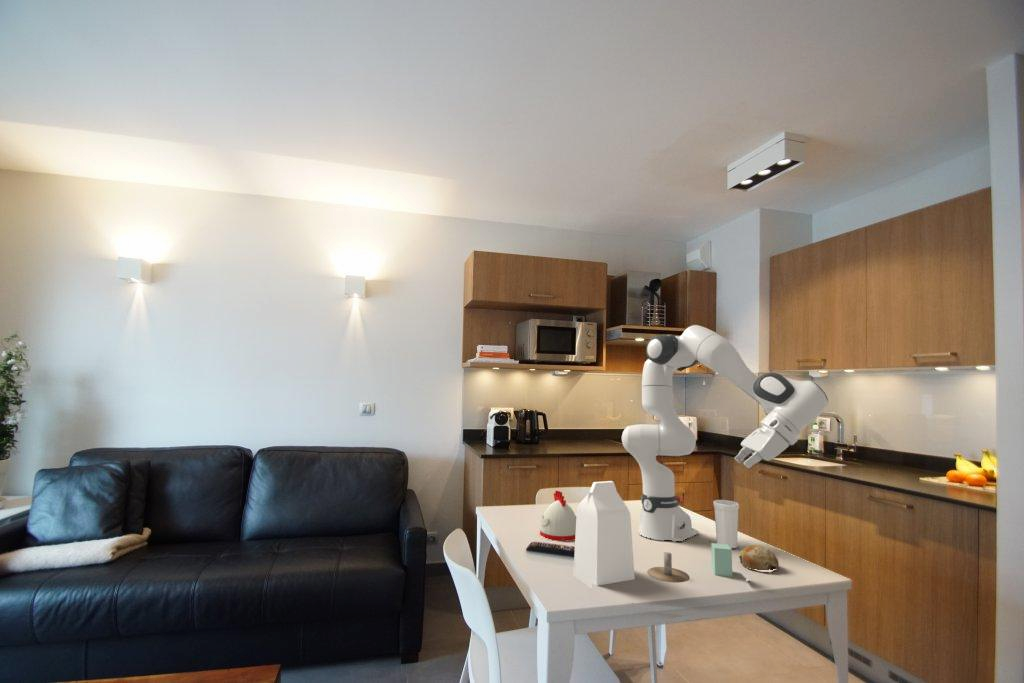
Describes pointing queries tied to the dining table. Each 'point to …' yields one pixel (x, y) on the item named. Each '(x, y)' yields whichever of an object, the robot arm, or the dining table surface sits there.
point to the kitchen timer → (558, 520)
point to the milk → (603, 537)
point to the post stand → (668, 571)
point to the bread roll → (758, 558)
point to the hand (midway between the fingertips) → (740, 463)
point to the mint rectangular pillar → (721, 559)
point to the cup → (726, 522)
